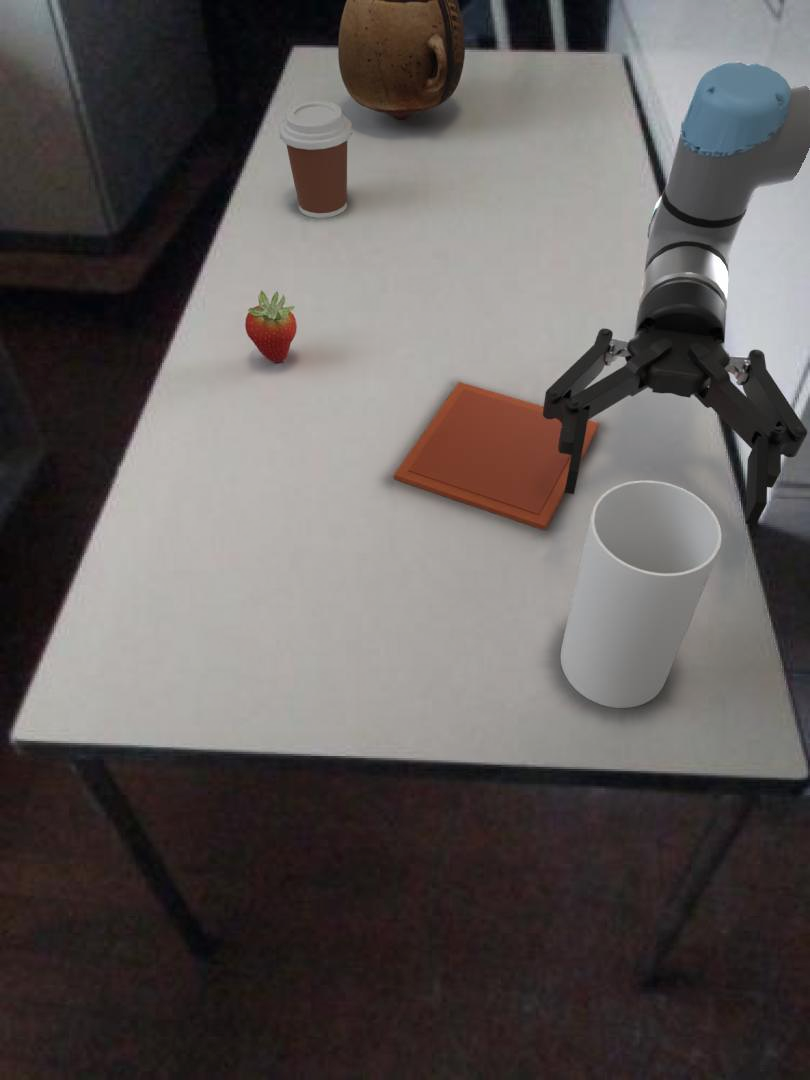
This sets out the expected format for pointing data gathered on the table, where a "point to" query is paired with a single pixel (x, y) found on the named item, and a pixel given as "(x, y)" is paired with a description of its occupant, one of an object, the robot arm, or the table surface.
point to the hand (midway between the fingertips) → (661, 498)
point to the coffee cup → (318, 156)
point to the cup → (637, 590)
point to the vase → (401, 53)
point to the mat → (493, 456)
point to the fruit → (271, 327)
